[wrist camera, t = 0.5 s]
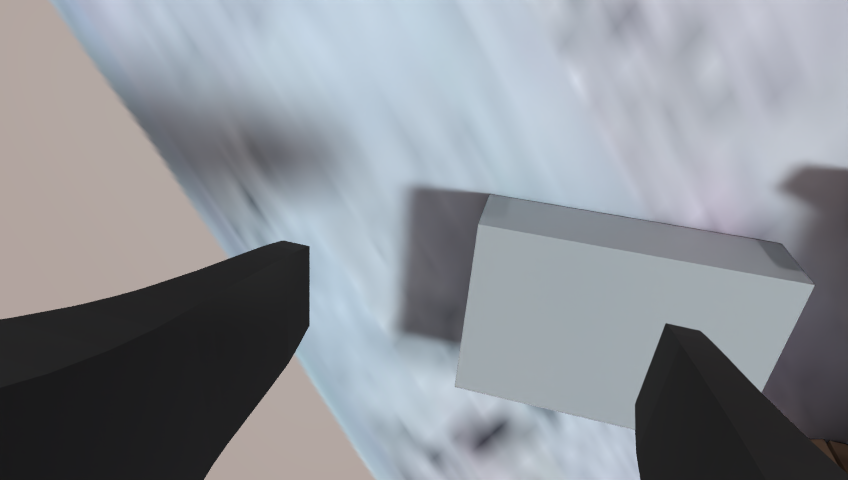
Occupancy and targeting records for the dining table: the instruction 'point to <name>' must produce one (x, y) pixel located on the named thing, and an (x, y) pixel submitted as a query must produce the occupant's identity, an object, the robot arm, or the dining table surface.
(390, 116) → the dining table surface
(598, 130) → the dining table surface
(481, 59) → the dining table surface
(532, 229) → the grey slab
